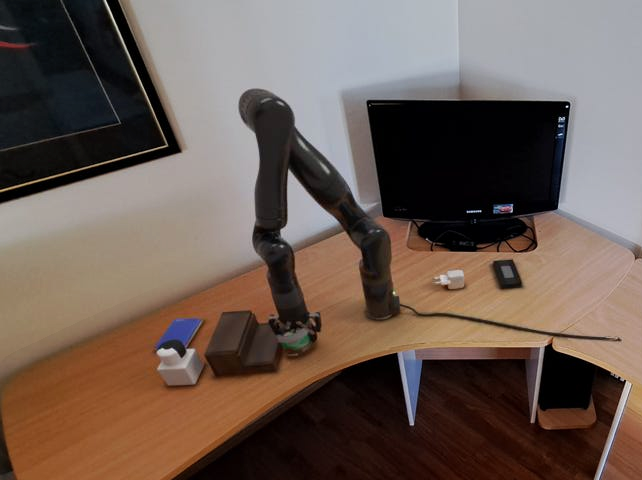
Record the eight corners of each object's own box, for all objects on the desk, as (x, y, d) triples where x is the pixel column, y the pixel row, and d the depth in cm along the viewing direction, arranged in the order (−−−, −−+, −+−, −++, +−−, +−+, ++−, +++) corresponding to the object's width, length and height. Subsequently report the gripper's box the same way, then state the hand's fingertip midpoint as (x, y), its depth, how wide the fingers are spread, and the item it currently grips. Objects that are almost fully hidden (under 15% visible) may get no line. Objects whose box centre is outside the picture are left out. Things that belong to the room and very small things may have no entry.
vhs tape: (512, 263, 168) (512, 259, 167) (521, 287, 158) (522, 282, 156) (493, 265, 167) (493, 260, 166) (501, 289, 157) (501, 284, 155)
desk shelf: (286, 329, 138) (279, 308, 132) (275, 371, 126) (266, 350, 120) (232, 333, 136) (222, 312, 130) (215, 376, 124) (203, 355, 118)
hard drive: (174, 318, 138) (153, 347, 129) (201, 318, 138) (182, 347, 129) (176, 321, 139) (156, 351, 130) (203, 321, 139) (184, 351, 130)
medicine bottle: (178, 365, 126) (160, 336, 118) (205, 364, 127) (188, 335, 119) (167, 386, 121) (147, 357, 113) (195, 385, 121) (176, 355, 113)
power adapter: (433, 292, 154) (432, 279, 150) (431, 284, 157) (430, 271, 154) (464, 289, 156) (465, 276, 152) (462, 280, 159) (462, 267, 156)
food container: (305, 364, 128) (296, 340, 121) (285, 361, 129) (276, 337, 122) (325, 334, 137) (318, 311, 130) (306, 331, 138) (298, 307, 131)
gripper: (257, 309, 116) (273, 352, 127) (314, 306, 118) (325, 349, 129) (263, 291, 122) (279, 334, 133) (318, 288, 124) (328, 331, 135)
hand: (302, 341), depth 131 cm, fingers closed on food container, 6 cm apart
